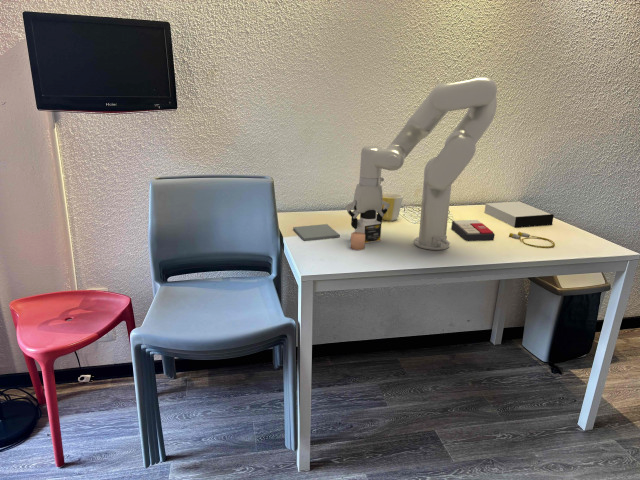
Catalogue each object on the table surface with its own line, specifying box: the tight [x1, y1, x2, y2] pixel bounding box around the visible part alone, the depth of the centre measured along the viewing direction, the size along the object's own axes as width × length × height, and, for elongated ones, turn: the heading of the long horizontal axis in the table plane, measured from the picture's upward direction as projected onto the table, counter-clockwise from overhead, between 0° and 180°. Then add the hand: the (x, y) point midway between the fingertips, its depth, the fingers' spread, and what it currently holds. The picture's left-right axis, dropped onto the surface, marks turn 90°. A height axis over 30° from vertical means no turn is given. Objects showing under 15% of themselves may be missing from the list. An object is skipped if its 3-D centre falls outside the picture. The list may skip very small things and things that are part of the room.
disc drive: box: [483, 200, 555, 229], centre depth 211 cm, size 18×22×5 cm
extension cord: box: [508, 231, 556, 249], centre depth 184 cm, size 12×16×2 cm
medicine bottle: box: [354, 210, 382, 244], centre depth 181 cm, size 7×7×12 cm
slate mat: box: [292, 223, 341, 242], centre depth 188 cm, size 14×14×1 cm
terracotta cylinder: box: [350, 231, 366, 251], centre depth 174 cm, size 5×5×5 cm
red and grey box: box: [450, 219, 496, 242], centre depth 190 cm, size 11×4×15 cm
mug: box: [377, 191, 404, 222], centre depth 206 cm, size 14×10×10 cm
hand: (366, 226), depth 182 cm, fingers open, 9 cm apart
